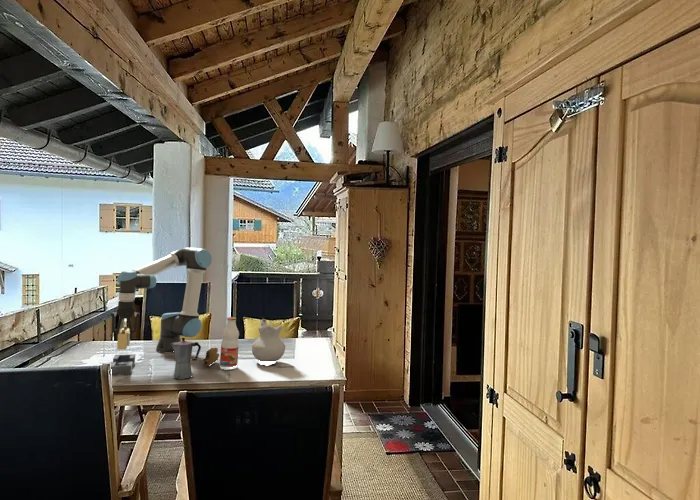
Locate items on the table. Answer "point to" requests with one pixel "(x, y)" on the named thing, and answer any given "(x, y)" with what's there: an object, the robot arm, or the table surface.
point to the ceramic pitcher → (268, 343)
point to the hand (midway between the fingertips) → (123, 345)
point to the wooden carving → (211, 356)
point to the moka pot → (184, 358)
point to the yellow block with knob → (123, 338)
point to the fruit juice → (229, 344)
